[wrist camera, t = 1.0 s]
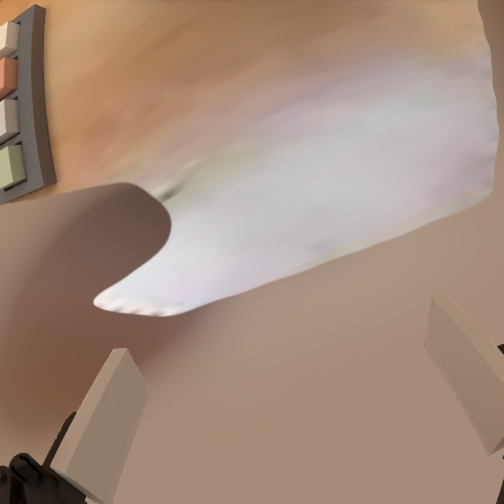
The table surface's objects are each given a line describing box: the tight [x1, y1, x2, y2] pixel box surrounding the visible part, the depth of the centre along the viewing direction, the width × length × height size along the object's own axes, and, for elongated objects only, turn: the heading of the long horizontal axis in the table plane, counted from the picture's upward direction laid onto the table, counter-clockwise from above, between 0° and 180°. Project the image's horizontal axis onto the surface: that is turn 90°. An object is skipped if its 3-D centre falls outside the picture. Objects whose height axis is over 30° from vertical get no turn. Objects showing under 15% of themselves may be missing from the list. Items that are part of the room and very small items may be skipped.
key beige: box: [0, 99, 20, 144], centre depth 26 cm, size 5×5×3 cm
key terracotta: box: [0, 57, 18, 101], centre depth 24 cm, size 5×5×3 cm
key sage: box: [0, 145, 27, 190], centre depth 29 cm, size 5×5×3 cm
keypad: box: [0, 4, 56, 205], centre depth 28 cm, size 30×12×3 cm, turn 9°
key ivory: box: [0, 21, 20, 60], centre depth 22 cm, size 5×5×3 cm
